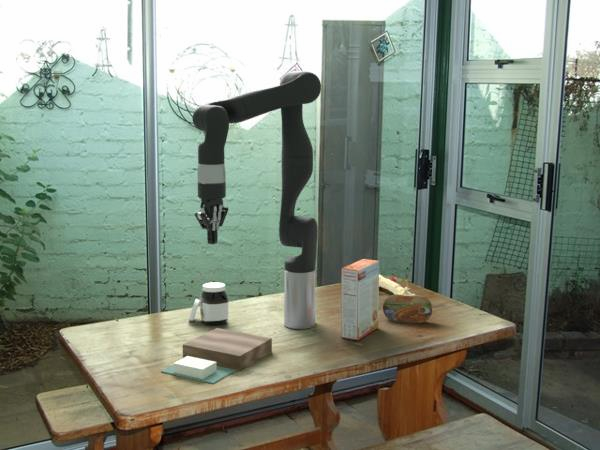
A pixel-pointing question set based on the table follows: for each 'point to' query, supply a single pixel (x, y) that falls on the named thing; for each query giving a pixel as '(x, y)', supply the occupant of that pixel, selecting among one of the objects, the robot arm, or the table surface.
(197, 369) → the tile
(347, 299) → the cracker box
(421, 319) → the tin
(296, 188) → the robot arm
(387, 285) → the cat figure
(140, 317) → the table surface
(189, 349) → the brown wooden board
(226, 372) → the mat
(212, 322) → the spread jar
